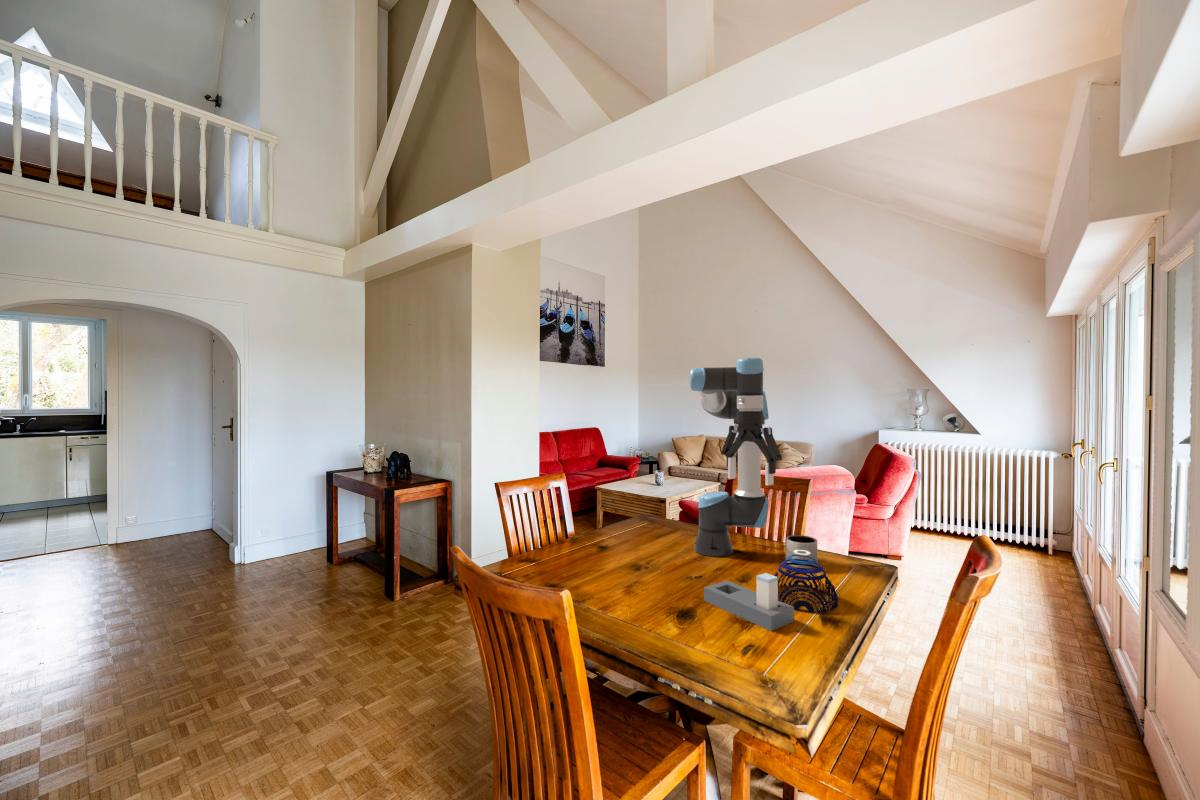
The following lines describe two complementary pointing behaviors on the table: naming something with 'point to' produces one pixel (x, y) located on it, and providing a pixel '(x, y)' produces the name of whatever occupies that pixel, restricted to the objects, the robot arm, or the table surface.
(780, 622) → the gray socket block
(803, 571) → the decorative bowl
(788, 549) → the planter
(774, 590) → the plug
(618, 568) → the table surface
